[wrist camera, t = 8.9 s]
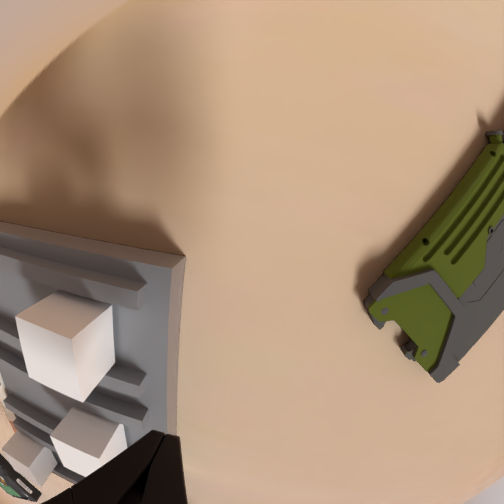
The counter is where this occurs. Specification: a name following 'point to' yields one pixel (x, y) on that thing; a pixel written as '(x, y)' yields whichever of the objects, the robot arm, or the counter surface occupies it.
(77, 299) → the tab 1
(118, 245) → the switch bank
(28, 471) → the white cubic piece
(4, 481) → the disk drive
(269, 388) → the counter surface
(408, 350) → the gun
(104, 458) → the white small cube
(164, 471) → the robot arm
